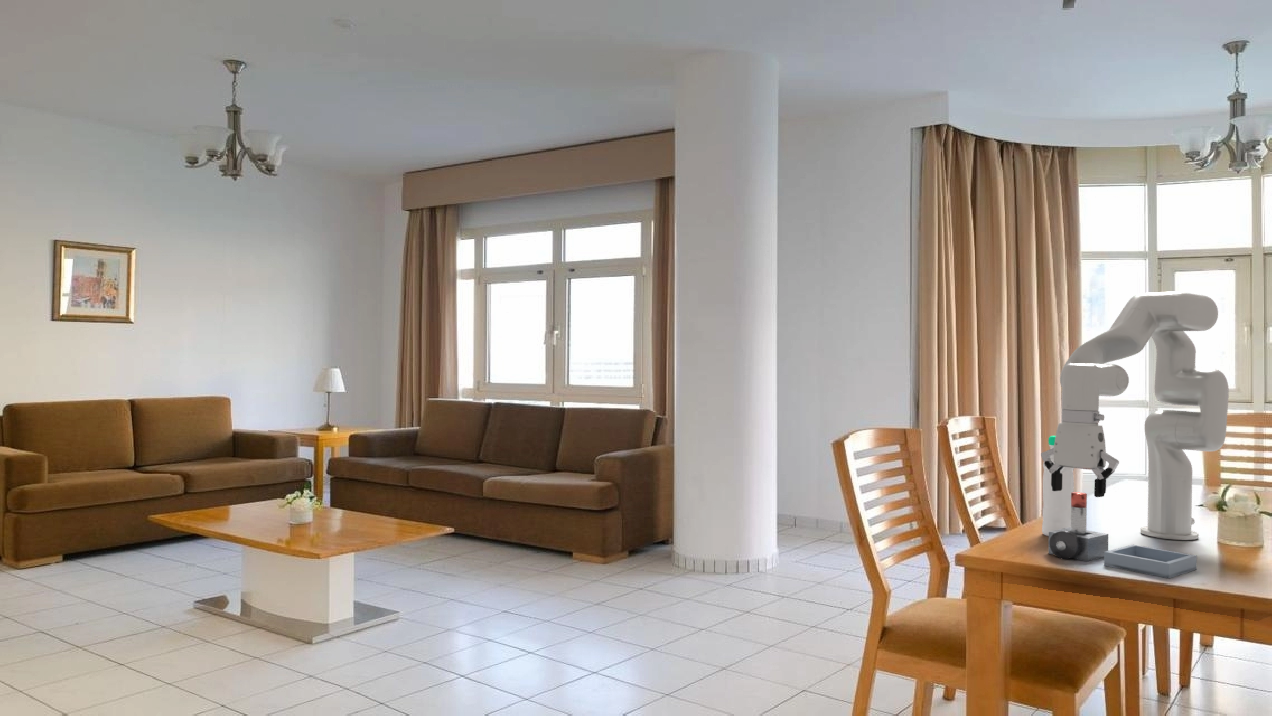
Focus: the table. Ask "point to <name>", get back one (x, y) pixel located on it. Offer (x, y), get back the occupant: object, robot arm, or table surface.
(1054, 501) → the water bottle
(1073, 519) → the pin
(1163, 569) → the tray
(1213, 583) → the table surface
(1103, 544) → the tensioner block
